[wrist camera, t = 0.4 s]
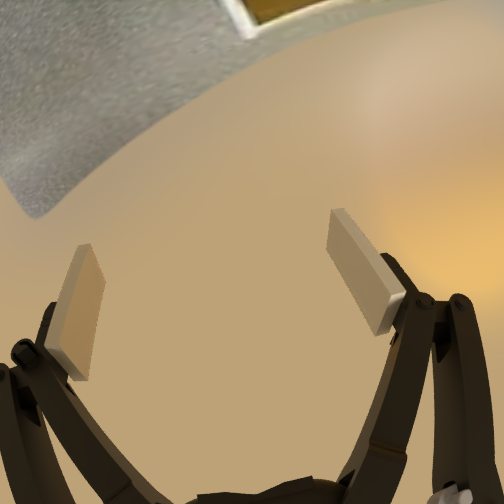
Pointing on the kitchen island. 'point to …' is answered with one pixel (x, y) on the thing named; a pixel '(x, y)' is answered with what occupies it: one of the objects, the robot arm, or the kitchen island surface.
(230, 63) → the kitchen island surface
